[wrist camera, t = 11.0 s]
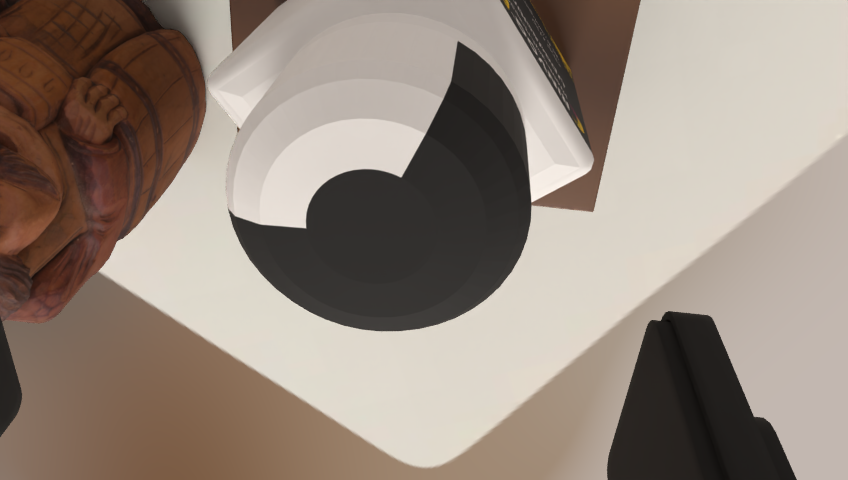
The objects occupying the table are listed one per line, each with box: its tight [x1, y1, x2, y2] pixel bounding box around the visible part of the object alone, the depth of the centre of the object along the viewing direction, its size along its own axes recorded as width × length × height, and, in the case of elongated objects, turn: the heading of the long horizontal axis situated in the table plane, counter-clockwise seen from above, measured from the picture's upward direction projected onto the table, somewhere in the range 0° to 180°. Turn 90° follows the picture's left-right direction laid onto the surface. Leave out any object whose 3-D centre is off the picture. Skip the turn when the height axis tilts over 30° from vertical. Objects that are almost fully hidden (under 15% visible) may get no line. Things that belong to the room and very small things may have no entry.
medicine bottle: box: [207, 0, 594, 331], centre depth 19 cm, size 7×7×12 cm
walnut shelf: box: [230, 0, 641, 212], centre depth 28 cm, size 11×13×10 cm
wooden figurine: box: [0, 0, 206, 323], centre depth 28 cm, size 12×6×18 cm, turn 42°
